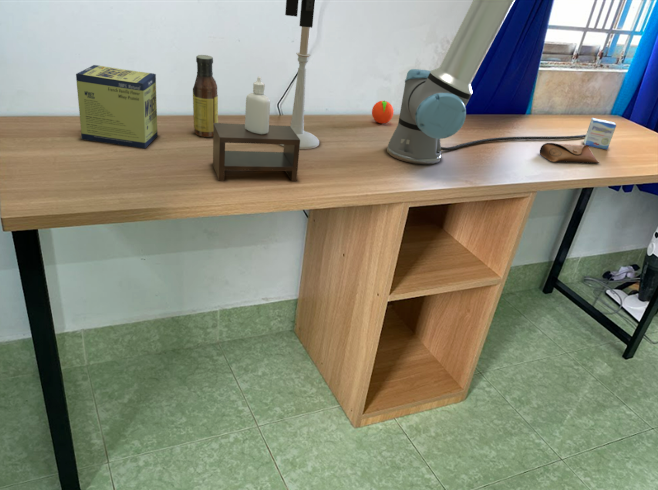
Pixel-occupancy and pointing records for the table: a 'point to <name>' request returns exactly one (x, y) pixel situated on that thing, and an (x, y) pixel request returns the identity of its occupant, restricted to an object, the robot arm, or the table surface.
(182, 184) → the table surface
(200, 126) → the sauce bottle
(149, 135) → the protein box
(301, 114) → the candlestick
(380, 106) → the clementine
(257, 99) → the eye dropper bottle
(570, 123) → the table surface
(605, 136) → the medicine box
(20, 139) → the table surface
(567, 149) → the sunglasses case
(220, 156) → the dark brown wooden stand
